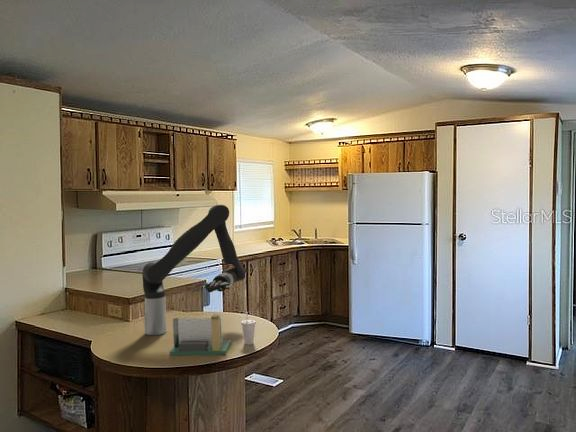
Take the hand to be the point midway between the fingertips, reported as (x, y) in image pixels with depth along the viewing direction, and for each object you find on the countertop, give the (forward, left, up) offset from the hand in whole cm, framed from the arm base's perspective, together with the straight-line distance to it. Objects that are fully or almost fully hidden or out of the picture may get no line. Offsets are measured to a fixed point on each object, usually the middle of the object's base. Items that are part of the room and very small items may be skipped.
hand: (209, 289), depth 213 cm
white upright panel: (-4, -10, -22) cm, 24 cm away
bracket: (-3, -7, -24) cm, 25 cm away
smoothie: (+17, 0, -24) cm, 29 cm away
